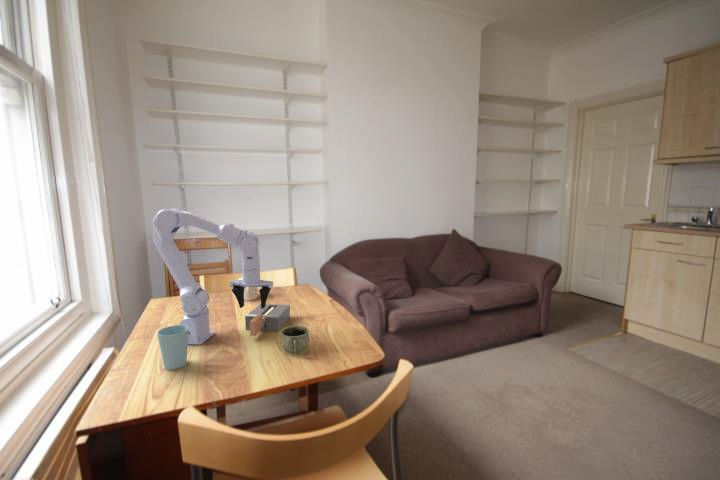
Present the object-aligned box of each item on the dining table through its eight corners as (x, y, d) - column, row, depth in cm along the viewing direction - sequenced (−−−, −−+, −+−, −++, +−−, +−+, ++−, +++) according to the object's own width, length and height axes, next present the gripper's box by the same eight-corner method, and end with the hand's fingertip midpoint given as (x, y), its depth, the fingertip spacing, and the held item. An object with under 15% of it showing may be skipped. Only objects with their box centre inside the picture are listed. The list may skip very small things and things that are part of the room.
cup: (171, 357, 98) (168, 324, 96) (196, 358, 97) (194, 325, 96) (153, 371, 90) (150, 335, 89) (180, 372, 90) (178, 336, 88)
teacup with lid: (237, 296, 158) (236, 272, 156) (257, 294, 161) (256, 271, 159) (237, 304, 146) (236, 278, 145) (259, 302, 149) (258, 277, 148)
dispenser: (277, 331, 117) (277, 316, 116) (245, 330, 118) (244, 314, 118) (289, 317, 131) (289, 302, 131) (260, 315, 132) (260, 301, 132)
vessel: (281, 342, 109) (281, 324, 108) (308, 340, 111) (308, 322, 110) (280, 360, 97) (279, 339, 96) (310, 357, 99) (310, 337, 98)
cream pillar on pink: (254, 336, 110) (254, 321, 109) (250, 336, 110) (249, 321, 109) (275, 315, 130) (275, 302, 129) (271, 315, 130) (271, 302, 129)
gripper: (275, 266, 116) (276, 304, 118) (235, 265, 117) (237, 302, 119) (268, 271, 109) (269, 310, 111) (226, 270, 110) (228, 309, 112)
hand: (252, 307), depth 114 cm, fingers open, 7 cm apart
